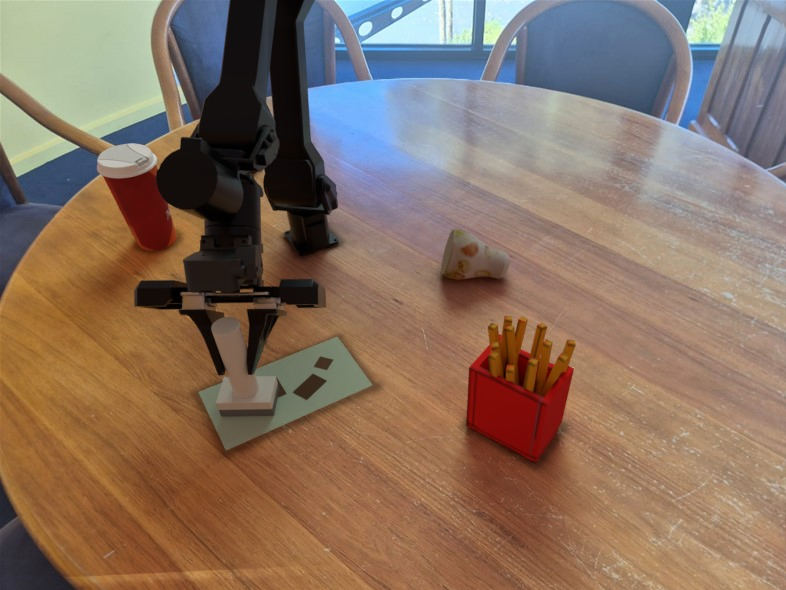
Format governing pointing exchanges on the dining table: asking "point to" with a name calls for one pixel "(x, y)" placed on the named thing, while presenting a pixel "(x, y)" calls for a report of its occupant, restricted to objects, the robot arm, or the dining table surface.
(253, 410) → the white peg on base
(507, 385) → the french fries container
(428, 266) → the dining table surface
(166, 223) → the paper cup
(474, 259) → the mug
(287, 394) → the mat
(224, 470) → the dining table surface
